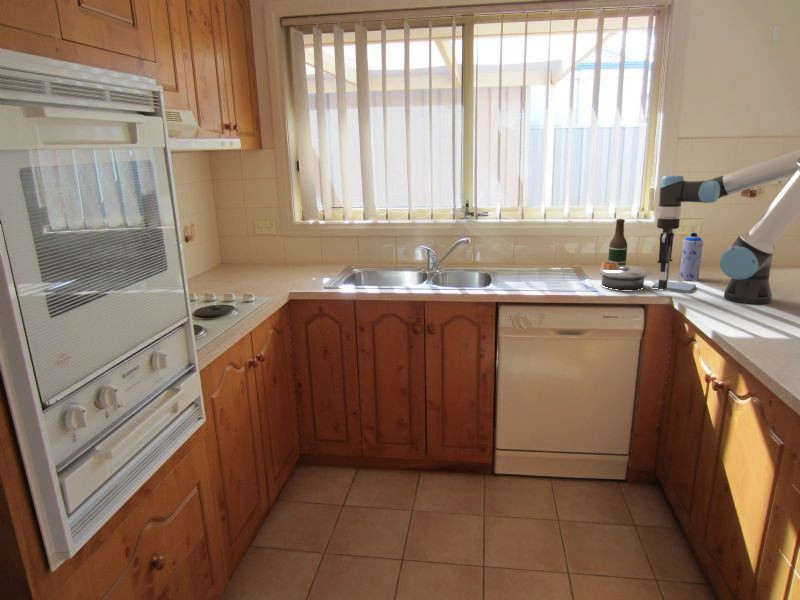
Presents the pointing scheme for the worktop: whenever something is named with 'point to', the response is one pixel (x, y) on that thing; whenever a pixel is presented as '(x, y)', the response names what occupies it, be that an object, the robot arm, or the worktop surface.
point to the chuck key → (664, 282)
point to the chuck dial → (622, 271)
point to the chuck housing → (622, 283)
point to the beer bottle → (618, 245)
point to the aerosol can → (691, 257)
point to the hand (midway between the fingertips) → (663, 278)
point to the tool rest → (677, 287)
